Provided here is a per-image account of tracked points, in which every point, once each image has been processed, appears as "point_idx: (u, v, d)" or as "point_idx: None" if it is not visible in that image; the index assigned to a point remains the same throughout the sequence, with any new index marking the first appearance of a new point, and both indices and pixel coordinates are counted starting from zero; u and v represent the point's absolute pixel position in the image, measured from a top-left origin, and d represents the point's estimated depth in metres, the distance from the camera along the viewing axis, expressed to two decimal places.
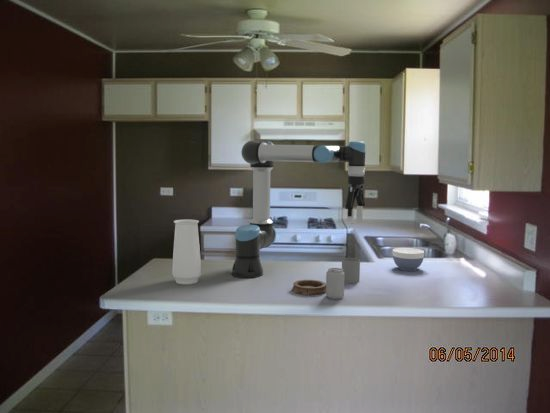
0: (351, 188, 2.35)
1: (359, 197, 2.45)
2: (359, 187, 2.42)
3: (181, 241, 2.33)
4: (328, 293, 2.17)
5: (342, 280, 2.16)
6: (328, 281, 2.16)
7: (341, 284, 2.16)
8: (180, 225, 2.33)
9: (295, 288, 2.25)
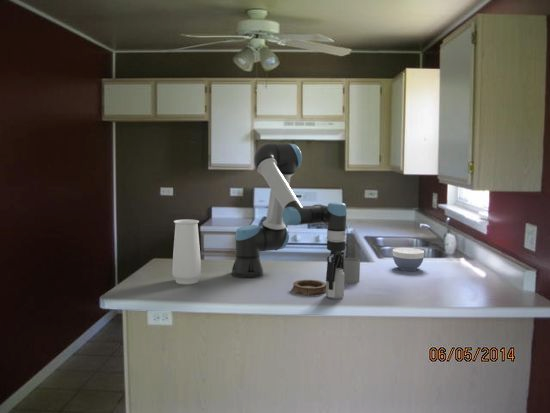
0: (330, 259, 2.11)
1: (339, 265, 2.20)
2: (340, 252, 2.18)
3: (181, 241, 2.33)
4: None
5: (342, 280, 2.16)
6: None
7: (341, 284, 2.16)
8: (180, 225, 2.33)
9: (295, 288, 2.25)
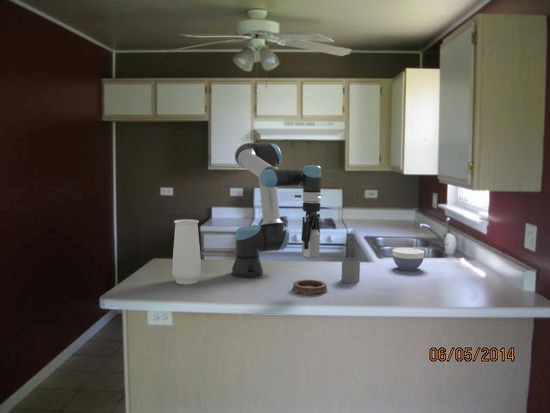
0: (305, 219, 2.19)
1: (314, 226, 2.27)
2: (315, 213, 2.26)
3: (181, 241, 2.33)
4: None
5: (317, 240, 2.24)
6: None
7: (316, 244, 2.23)
8: (180, 225, 2.33)
9: (295, 288, 2.25)
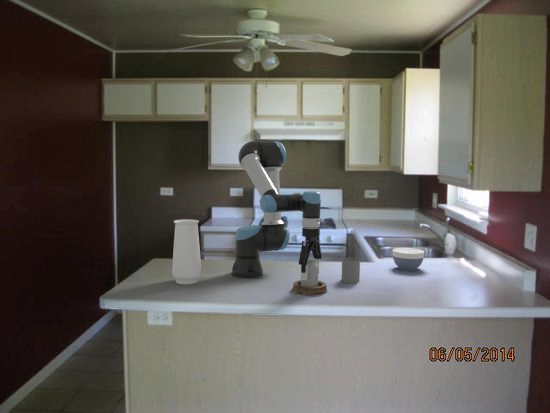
0: (304, 242, 2.20)
1: (315, 250, 2.30)
2: (314, 239, 2.27)
3: (181, 241, 2.33)
4: (303, 284, 2.26)
5: (316, 272, 2.25)
6: None
7: (315, 276, 2.25)
8: (180, 225, 2.33)
9: (295, 288, 2.25)
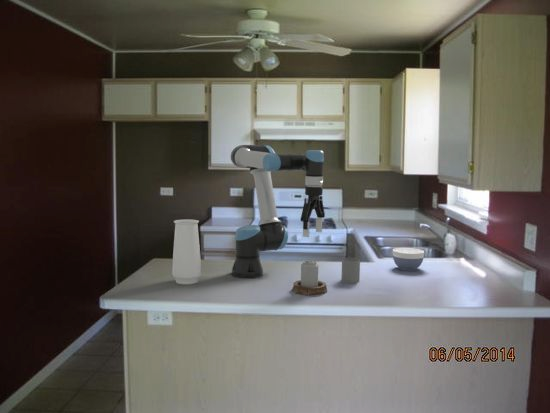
0: (307, 200, 2.23)
1: (318, 208, 2.32)
2: (317, 198, 2.30)
3: (181, 241, 2.33)
4: (303, 284, 2.26)
5: (316, 272, 2.25)
6: (303, 273, 2.25)
7: (315, 276, 2.25)
8: (180, 225, 2.33)
9: (295, 288, 2.25)
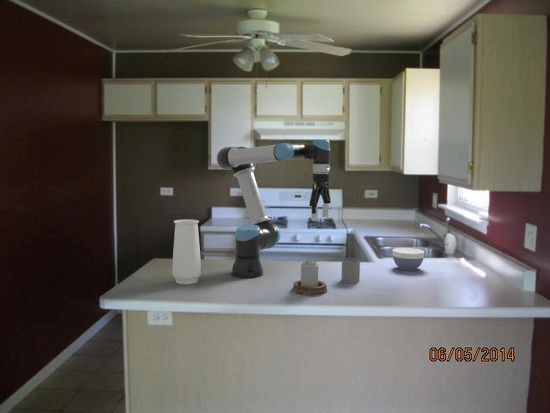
0: (315, 185, 2.37)
1: (324, 195, 2.47)
2: (324, 185, 2.44)
3: (181, 241, 2.33)
4: (303, 284, 2.26)
5: (316, 272, 2.25)
6: (303, 273, 2.25)
7: (315, 276, 2.25)
8: (180, 225, 2.33)
9: (295, 288, 2.25)
